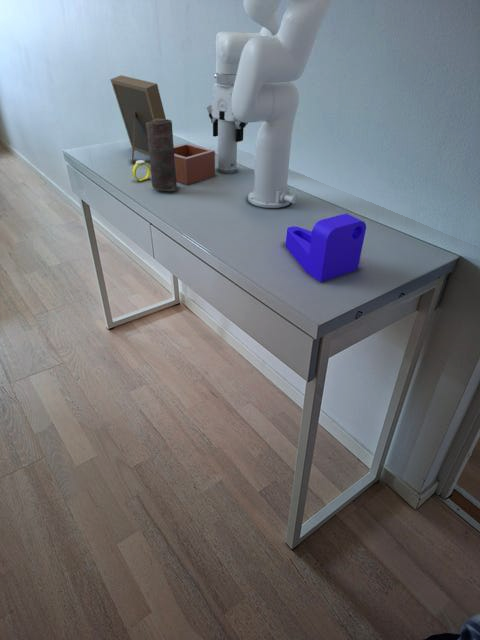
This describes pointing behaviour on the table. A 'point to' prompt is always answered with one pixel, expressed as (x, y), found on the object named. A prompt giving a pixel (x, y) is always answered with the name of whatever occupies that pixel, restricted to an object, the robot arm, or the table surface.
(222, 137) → the travel mug
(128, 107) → the photo frame
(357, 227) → the bracket
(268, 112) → the robot arm
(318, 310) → the table surface
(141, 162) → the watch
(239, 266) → the table surface
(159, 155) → the dark brown tall block
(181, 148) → the holder
